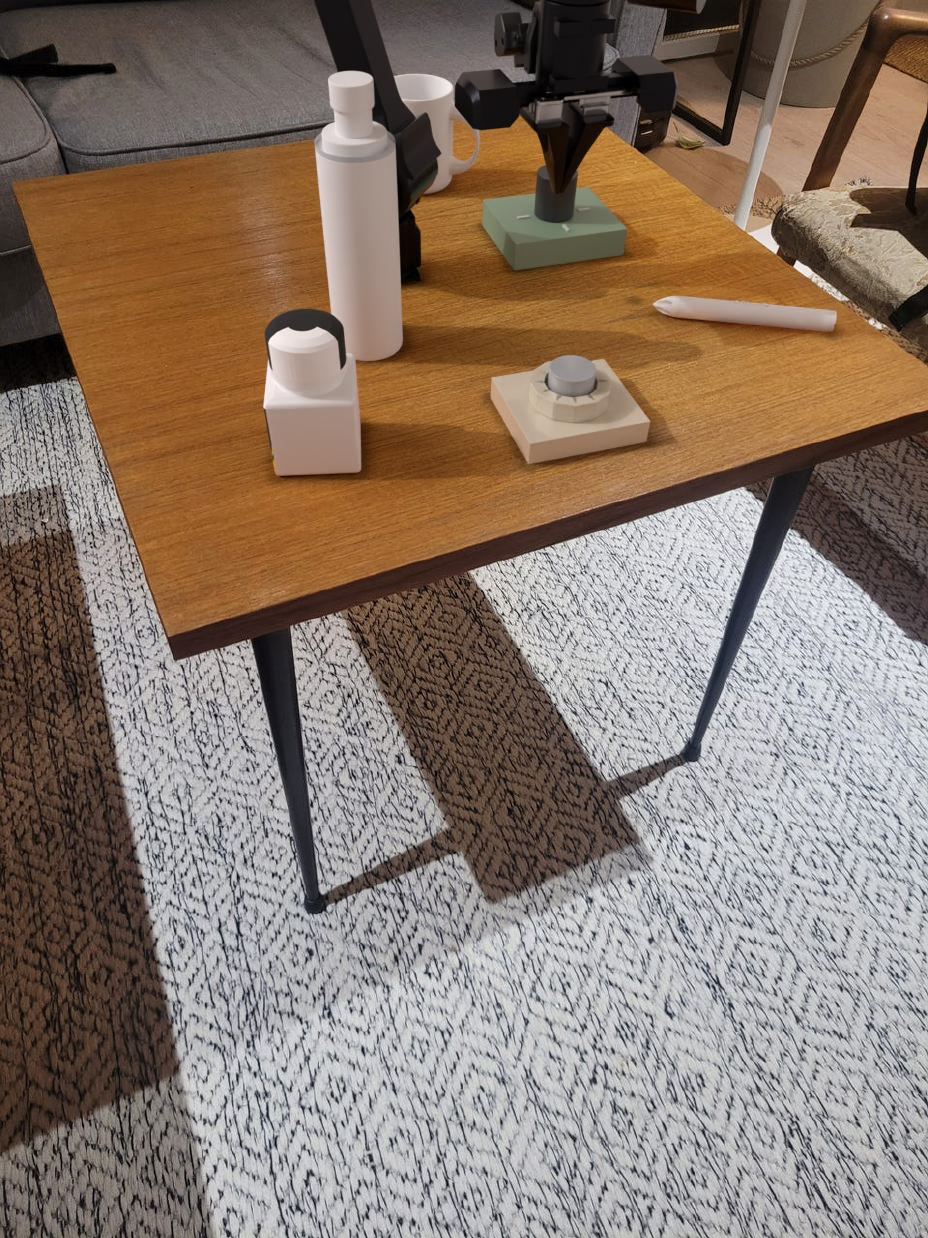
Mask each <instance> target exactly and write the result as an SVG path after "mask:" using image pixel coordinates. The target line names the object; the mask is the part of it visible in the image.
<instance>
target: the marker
mask: <svg viewBox="0 0 928 1238" xmlns="http://www.w3.org/2000/svg"><path fill="white" fill-rule="evenodd" d="M652 305H653V307H654V308H655V309H656V310H657V311H659V312H660V313H661V314H663V315H666V316H667V317H672V318H678V319H687V320H688V319H689V320H698V321H699V320H701V321H711V322H720V323H731V324H741V325H752V326H762V327H770V328H771V327H772V328H782V329H792V330H803V331H812V332H813V331H815V332H824V333H826V332H827V333H828V332H829V333H831V332H833V331H834V329H835V325H836V323H837V318H838V317H837V316H838V313H837V311H836V310H832V309H825V308H824V309H822V308H815V307H814V308H813V307H801V306H792V305H791V306H790V305H781V304H770V303H768V302H762V303H758V302H748V301H745V300H741V301H739V300H738V299H736V300H728V299H717V298H706V297H695V296H686V295H669V296H665V297H663V298H660V299H658V300H656V301H655V302H654V303H652Z"/></svg>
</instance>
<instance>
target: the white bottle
mask: <svg viewBox="0 0 928 1238" xmlns="http://www.w3.org/2000/svg"><path fill="white" fill-rule="evenodd" d="M327 82H328V84H327V85H328V95H329V105H330V108H331V109H332V110H333V116H334V121H333V122H330V123H328V124H326V125H325V126H324V127H323V128H322V130H321V132H320V133H318V134H317V136H316V137H315V138H314V152H315V162H316V173H317V184H318V193H319V194H318V195H319V203H320V204H319V205H320V214H321V225H322V234H323V246H324V254H325V255H324V256H325V265H326V275H327V284H328V285H327V286H328V294H329V304H330V314H332V315H333V316H335V317H336V318H337V319H338V320H339V321H340V322H341V323H342V325H343V327H344V336H345V347H346V353H352V354H353V355H354V356H355V361H360V362H375V361H381V360H385V359H388V358H390V357H392V356H393V355H395V354H397V352H399V351H400V349H401V348H402V346H403V341H404V334H403V333H404V331H403V311H402V310H403V307H402V306H403V305H402V304H403V303H402V284H401V276H400V249H399V221H398V195H397V171H396V148H395V144H394V143H395V138H394V136H393V135H392V134H391V133H390V132H388V131H387V130H386V128H385V127H384V126H383V125H381V124H379V123H377V122H374V121H372V108H373V107H374V104H375V101H374V81H373V77H372V76H371V75H369V74H367V73H364V72H360V71H343V72H335V73H333V74H331V75H330V76H329V77H328V78H327ZM390 138H391V139H392V140H393V141H394V142H393V141H392V140H391V139H390Z"/></svg>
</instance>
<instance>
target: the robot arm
mask: <svg viewBox="0 0 928 1238" xmlns="http://www.w3.org/2000/svg"><path fill="white" fill-rule="evenodd" d="M312 1H313V4H314V6H315V10H316V13H317V16H318V18H319V21H320V24H321V27H322V30H323V33H324V36H325V39H326V42H327V45H328V47H329V51H330V53H331V57H332V60H333V62H334V66H335V69H336V73H338V72H343V71H360V72H364V73H367V74H369V75H371V76H372V77H373V81H374V101H375V104H374V107H373V108H372V121H374V122H377V123H379V124H381V125H383V126H384V127H385V128H386V130H387V131H388V132H390V133H391V134H392V135H393V136H394V138H395V143H394V144H395V148H396V171H397V195H398V221H399V249H400V276H401V285H403V284H409V283H410V284H411V283H417V282H418V283H419V282H421V281H422V273H421V272H420V271H419V269H420V268H421V266H422V230H421V229H420V227H419V226H418V223H417V222H416V216H415V214H414V212H413V211H412V208H414V207H415V205H418V204H419V203H420V202H421V199H422V196H423V195H425V194H424V193H425V192H426V191H427V190H428V189H429V188H430V187H431V186H432V185H433V183H434V181H435V178H436V176H437V174H438V162H437V158H438V157H439V156H440V155H441V151H440V150H439V148H438V147H437V145H436V143H435V140H434V138H433V134H432V128H431V121H430V118H429V116H428V113H426V112H424V113H422V114H420V115H418V116H416V117H415V115H414V114H413V113H412V112H411V111H410V110H409V108H408V107H407V106H406V105H405V104H404V103H403V101H402V99H401V97H400V95H399V92H398V89H397V85H396V82H395V79H394V76H395V75H394V73H393V70H392V69H393V68H392V66H391V63H390V59H389V55H388V53H387V49H386V47H385V43H384V40H383V36H382V33H381V30H380V27H379V23H378V20H377V17H376V13H375V10H374V7H373V4H372V0H312ZM626 2H627V4H628V5H633V6H640V7H647V8H655V9H661V10H667V11H668V10H669V11H676V12H681V13H689V14H695V15H699V14H701V12H702V11H703V9H704V7H705V4H706V2H707V0H626ZM611 4H612V0H539V1H534V4H533V8H532V16H531V22H523V19H522V16H521V15H522V14H521V12H519V11H512V12H500V13H497V14H495V16H494V27H493V28H494V29H493V43H494V44H493V46H494V53H495V56H496V57H497V58H501V57H513V65H514V66H513V67H514V69H517V68H518V69H519V68H523V71H524V72H525V73H526V74H527V75H534V80H526V81H515V82H513V81H512V80H511V79H510V78H509V77H508V76H507V75H506V73H504V72H503V71H502V70H501V68H495V69H483V70H472V71H462V72H461V73H460V76H459V77H458V79H457V80H456V82H455V85H454V101H455V108H456V109H457V110H458V111H459V112H460V114H461V115H462V116H463V117H464V119H465V120H466V121H467V122H468V124H469V125H470V126H471V127H472V129H476V130H479V131H490V130H498V129H499V130H500V129H508V128H509V129H510V128H511V127H512V126H513V124H515V122H516V121H517V120H518V119H519V118H520V117H521V119H523V121H524V122H525V123H526V124H527V125H528V126H529V127H530V128H531V129H532V130H533V132H535V133H536V135H537V138H538V141H539V144H540V147H541V152H542V154H543V155H542V156H543V160H544V163H545V164H544V165H546V168H547V172H548V176H549V180H550V185H551V189H552V191H553V192H554V193H555V194H562V193H564V192H565V190H566V188H567V186H568V185H569V183H570V181H571V179H572V178H573V176H574V174H575V172H576V171H577V172H578V169H579V166H580V165H581V163H582V162H583V160H584V158H585V157H586V155H587V154H588V152H589V151H590V149H591V148H592V146H593V145H594V144H595V143H596V141H597V140H598V138H599V137H600V135H601V134H602V133H603V131H604V130H605V129H606V128H609V127H610V128H611V127H613V126H614V125H615V120H616V119H615V117H614V116H613V115H612V114H611V113H610V112H609V109H610V104H611V100H612V99H613V100H614V99H621V98H632V97H636V99H635V100H636V101H635V102H636V103H637V105H638V106H639V108H640V109H641V110H642V111H643V112H644V113H646V114H649V113H657V112H658V113H659V112H667V111H673V110H674V109H675V108H676V105H677V99H678V95H679V94H678V93H679V88H680V86H679V80H678V77H677V75H676V73H675V72H674V71H673V70H672V69H671V68H669V67H668V66H667V65H665V64H664V63H663V62H662V61H660V59H658V58H656V57H655V56H654V55H653V54H646V55H635V56H625V57H623V56H622V57H617V58H616V59H615V60H614V61H613V63H612V65H611V67H610V72H609V73H606V71H604V64H605V56H606V48H607V47H606V46H607V38H608V35H609V34H615V29H616V21H617V19H616V17H615V16H613V15H612V14H611V6H612V5H611ZM390 139H391V138H390ZM391 140H392V139H391ZM392 141H393V140H392ZM393 142H394V141H393Z"/></svg>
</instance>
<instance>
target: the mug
mask: <svg viewBox="0 0 928 1238" xmlns="http://www.w3.org/2000/svg"><path fill="white" fill-rule="evenodd" d="M394 79H395V82H396V85H397V89H398V92H399V95H400V97H401V99H402V101H403V103H404V104H405V105H406V106H407V107H408V108H409V110H410V111H411V112H412V113H413V114H414V115H415V117H416V116H418V115H420V114H422V113H424V112H426V113H428V116H429V118H430V121H431V128H432V134H433V138H434V140H435V143H436V145H437V147H438V148H439V150H440V151H441V155H440V156H439V157H438V158H437V162H438V174H437V176H436V178H435V181H434V183H433V185H432V186H431V187H430V188H429V189H428V190H427V191H426V192H425V193H424V194H423V195H428V194H429V195H430V194H434V193H438V192H440V191H442V190H444V189H445V188H447V187H448V186H449V184H450V183H451V182H452V179H453V176H454V175H460V174H463V173H465V172H467V171H468V170H470V169H471V168H472V167H473V166H474V164H475V162H476V161H477V158H478V156H479V151H480V146H481V145H480V144H481V137H480V135H481V134H480V130H476V129H472V127H471V126H470V125H469V124H468V122H467V121H466V120H465V119H464V117H463V116H462V115H461V114H460V112H459V111H458V110H457V109H456V108H455V100H454V85H453V84H452V82H451V81H450V80H447V79H445V78H444V77H440V76H437V75H432V74H426V73H406V74H399V75H394ZM454 121H456V122H459V123H462V124H465V125H466V126H468V127H469V128H470V130H471V131H472V133H473V134H474V138H475V143H476V144H475V150H474V152H473V154H472V155H471V157H469V158H467V159H466V160H461V159H459V158H457V157H454V148H453V147H454Z"/></svg>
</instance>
